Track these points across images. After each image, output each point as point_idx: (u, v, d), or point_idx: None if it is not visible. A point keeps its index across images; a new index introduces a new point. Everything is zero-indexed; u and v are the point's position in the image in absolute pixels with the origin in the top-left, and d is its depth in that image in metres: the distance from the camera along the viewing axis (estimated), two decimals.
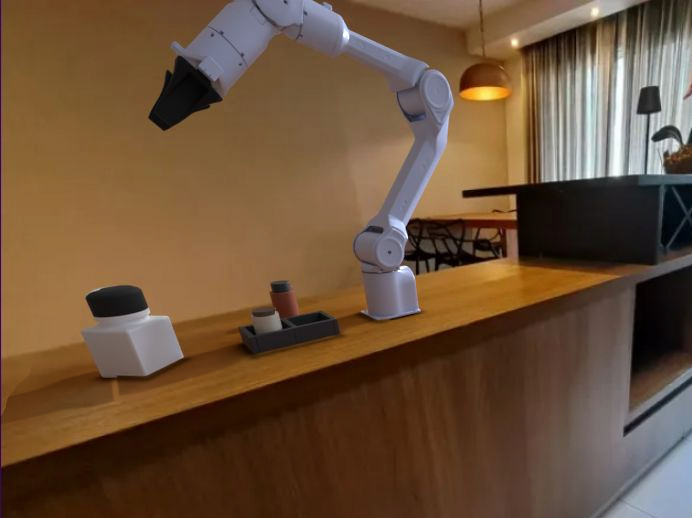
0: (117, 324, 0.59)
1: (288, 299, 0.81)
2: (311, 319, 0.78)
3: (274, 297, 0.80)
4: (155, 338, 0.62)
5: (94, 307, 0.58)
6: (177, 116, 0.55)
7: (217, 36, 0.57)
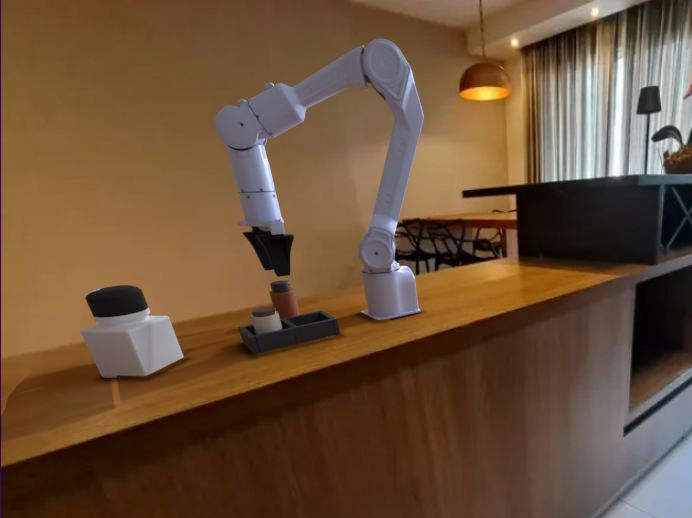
0: (117, 324, 0.59)
1: (288, 299, 0.81)
2: (311, 319, 0.78)
3: (274, 297, 0.80)
4: (155, 338, 0.62)
5: (94, 307, 0.58)
6: (287, 267, 0.77)
7: (251, 195, 0.72)
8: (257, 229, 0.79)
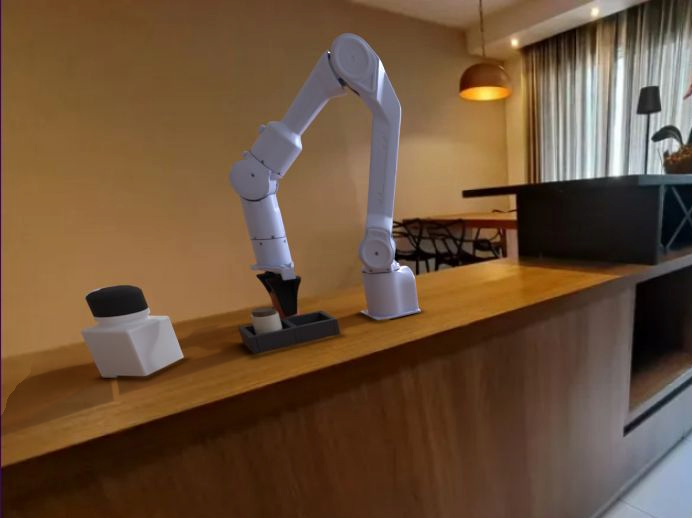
0: (117, 324, 0.59)
1: None
2: (311, 319, 0.78)
3: (274, 297, 0.80)
4: (155, 338, 0.62)
5: (94, 307, 0.58)
6: (294, 306, 0.81)
7: (263, 242, 0.75)
8: (268, 270, 0.83)
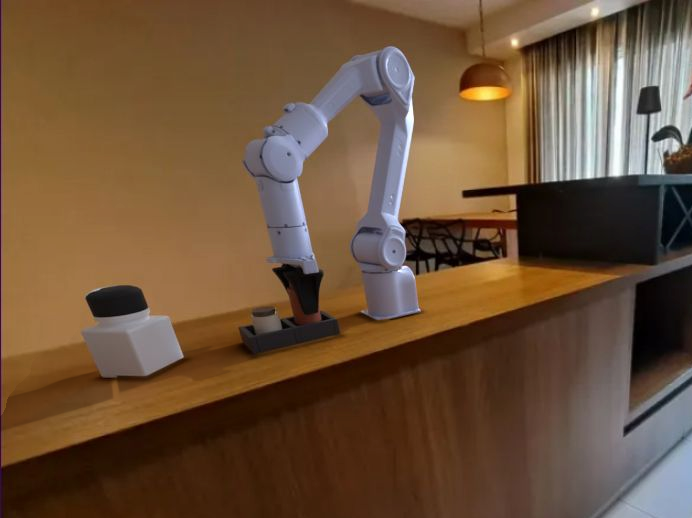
0: (117, 324, 0.59)
1: None
2: None
3: (293, 294, 0.71)
4: (155, 338, 0.62)
5: (94, 307, 0.58)
6: (315, 304, 0.72)
7: (282, 230, 0.66)
8: (285, 264, 0.73)
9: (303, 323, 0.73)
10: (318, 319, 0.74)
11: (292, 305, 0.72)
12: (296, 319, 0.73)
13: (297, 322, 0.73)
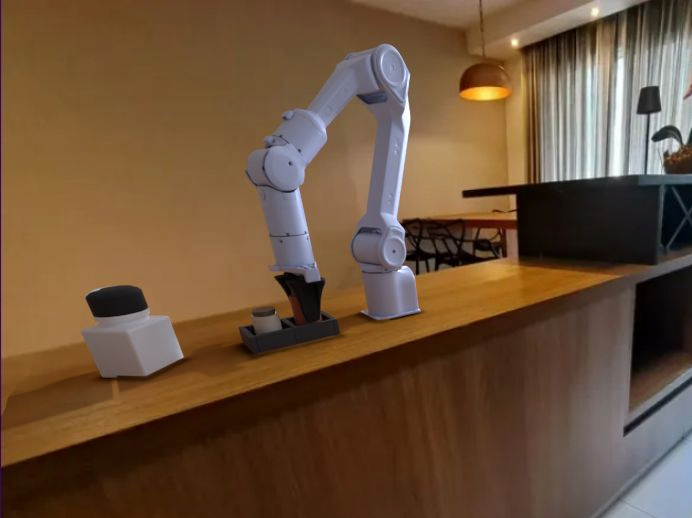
0: (117, 324, 0.59)
1: None
2: None
3: (295, 302, 0.71)
4: (155, 338, 0.62)
5: (94, 307, 0.58)
6: (317, 312, 0.73)
7: (284, 239, 0.67)
8: (287, 271, 0.74)
9: None
10: None
11: (294, 313, 0.73)
12: None
13: None
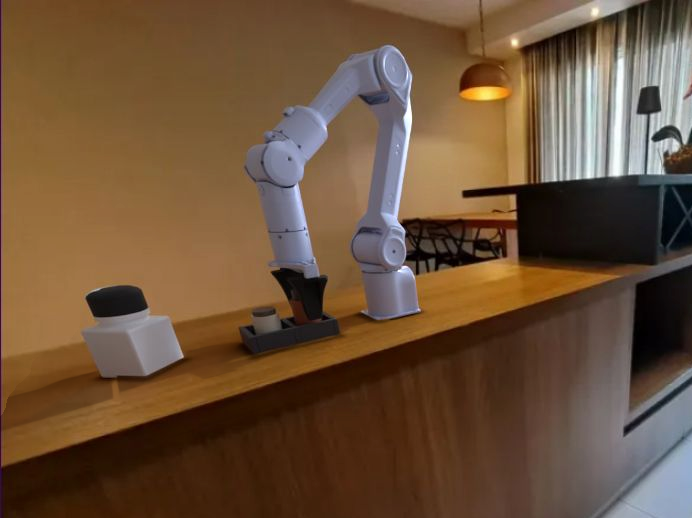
0: (117, 324, 0.59)
1: None
2: None
3: (295, 305, 0.72)
4: (155, 338, 0.62)
5: (94, 307, 0.58)
6: (319, 310, 0.71)
7: (283, 235, 0.66)
8: (286, 268, 0.74)
9: None
10: None
11: (295, 316, 0.73)
12: None
13: None
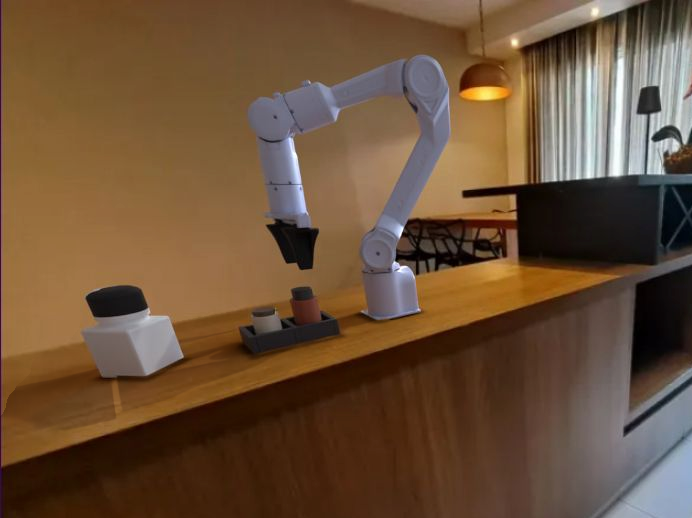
0: (117, 324, 0.59)
1: (311, 307, 0.73)
2: None
3: (295, 305, 0.72)
4: (155, 338, 0.62)
5: (94, 307, 0.58)
6: (310, 261, 0.77)
7: (279, 187, 0.72)
8: (280, 222, 0.79)
9: None
10: None
11: (295, 316, 0.73)
12: None
13: None
